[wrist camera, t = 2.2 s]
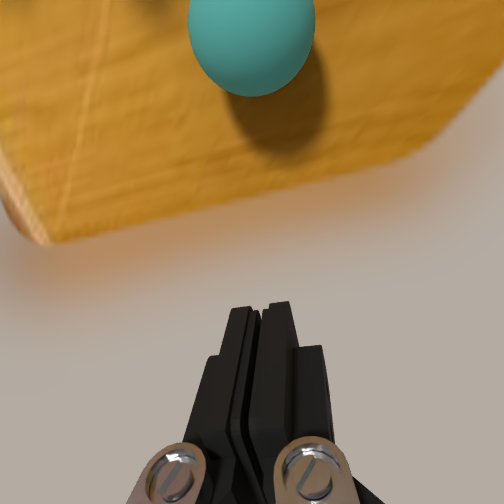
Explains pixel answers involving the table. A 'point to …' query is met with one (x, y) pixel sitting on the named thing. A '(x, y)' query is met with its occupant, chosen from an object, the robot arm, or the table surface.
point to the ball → (251, 42)
